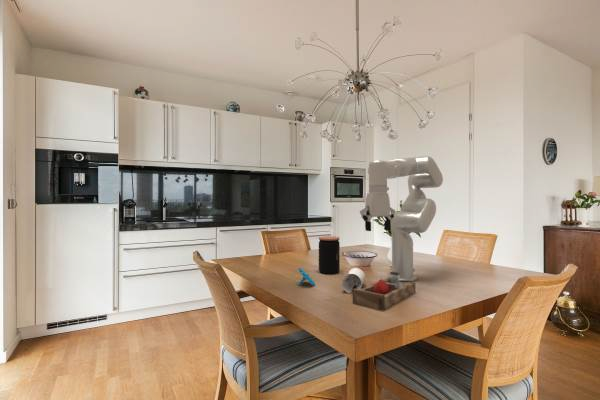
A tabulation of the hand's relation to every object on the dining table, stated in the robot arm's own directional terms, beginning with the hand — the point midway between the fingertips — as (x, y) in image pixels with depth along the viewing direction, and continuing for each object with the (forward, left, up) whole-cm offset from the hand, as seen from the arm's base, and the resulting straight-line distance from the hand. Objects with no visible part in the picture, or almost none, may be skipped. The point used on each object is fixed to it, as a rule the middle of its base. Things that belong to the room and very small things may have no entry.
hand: (378, 230), depth 139 cm
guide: (+11, +9, -24) cm, 28 cm away
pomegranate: (+14, +9, -25) cm, 30 cm away
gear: (+16, -26, -25) cm, 39 cm away
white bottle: (+7, -8, -25) cm, 27 cm away
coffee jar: (-10, -33, -25) cm, 42 cm away
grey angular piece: (+3, +9, -24) cm, 26 cm away
